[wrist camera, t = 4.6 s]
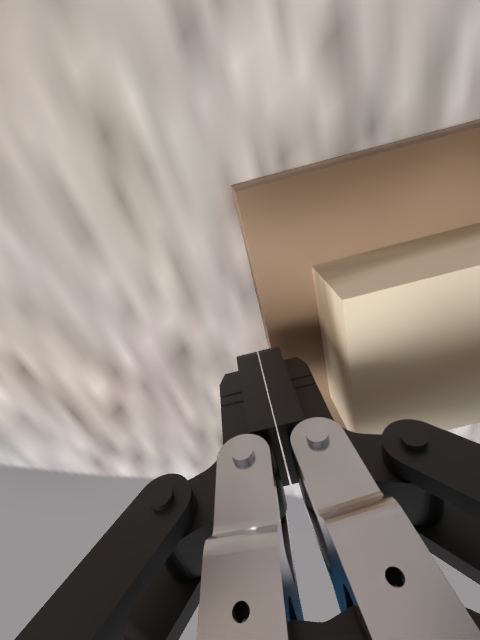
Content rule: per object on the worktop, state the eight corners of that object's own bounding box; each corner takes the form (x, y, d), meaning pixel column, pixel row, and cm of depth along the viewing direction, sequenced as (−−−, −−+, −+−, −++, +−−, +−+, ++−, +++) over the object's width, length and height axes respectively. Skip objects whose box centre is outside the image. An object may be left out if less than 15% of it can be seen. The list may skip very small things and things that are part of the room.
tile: (311, 265, 12) (342, 300, 9) (539, 207, 12) (638, 224, 9) (330, 395, 15) (358, 451, 12) (514, 350, 14) (584, 396, 12)
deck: (231, 185, 12) (235, 191, 10) (674, 67, 12) (757, 53, 10) (286, 423, 18) (295, 454, 16) (590, 348, 17) (634, 371, 16)
